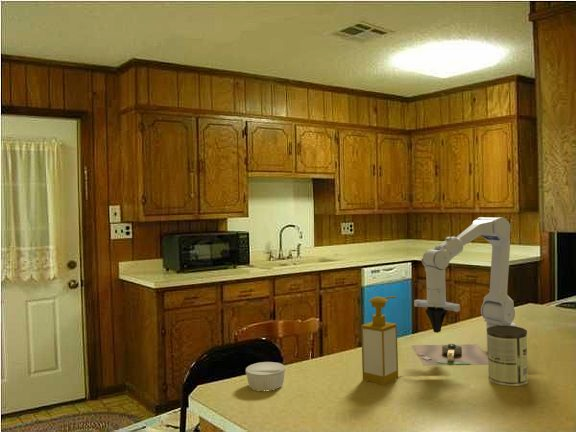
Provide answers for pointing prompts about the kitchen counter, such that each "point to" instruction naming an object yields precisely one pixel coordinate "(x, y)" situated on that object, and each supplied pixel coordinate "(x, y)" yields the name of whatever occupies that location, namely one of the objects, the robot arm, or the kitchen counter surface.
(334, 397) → the kitchen counter surface
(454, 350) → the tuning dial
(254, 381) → the ramekin
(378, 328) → the soap bottle
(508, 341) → the coffee can
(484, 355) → the brown flat square slab
